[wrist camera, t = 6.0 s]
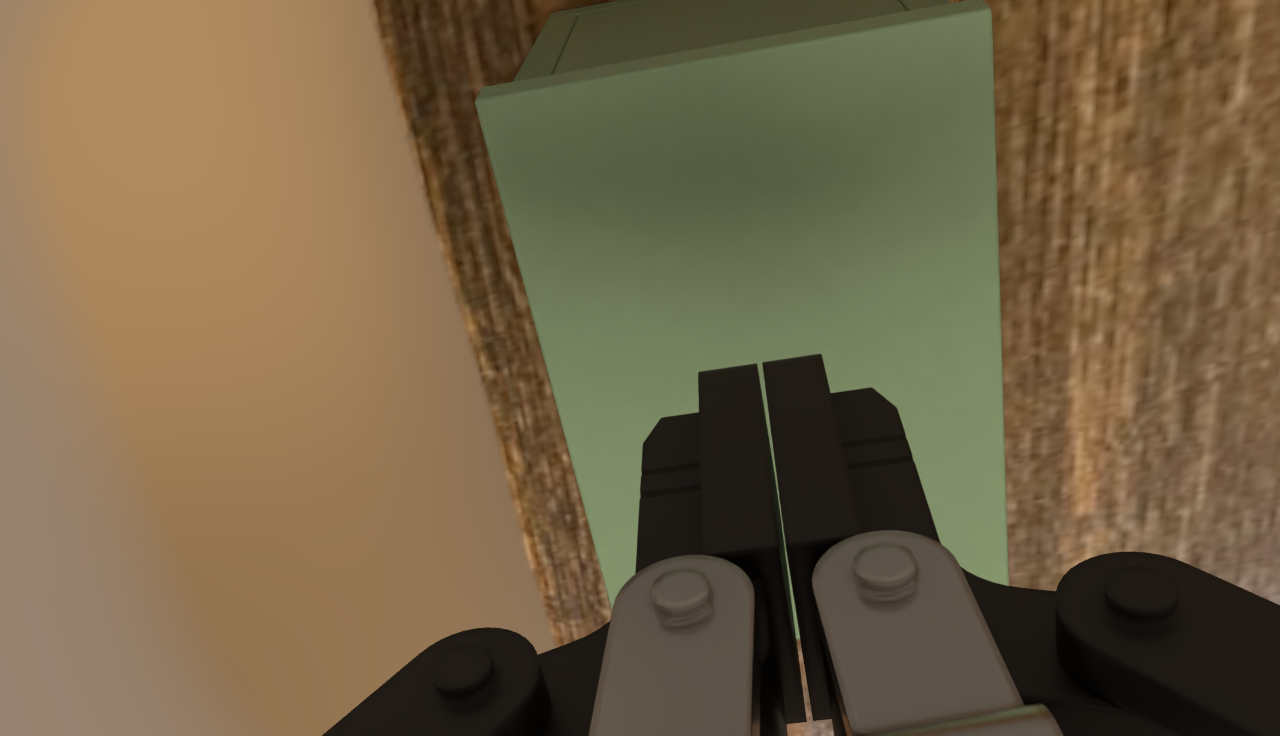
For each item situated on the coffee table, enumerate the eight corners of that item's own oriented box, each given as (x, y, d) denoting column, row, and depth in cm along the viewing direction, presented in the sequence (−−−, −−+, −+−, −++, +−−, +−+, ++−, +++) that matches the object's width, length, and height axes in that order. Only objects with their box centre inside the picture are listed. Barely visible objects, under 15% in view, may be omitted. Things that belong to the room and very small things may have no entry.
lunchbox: (549, 12, 28) (494, 111, 20) (896, -53, 27) (976, 27, 19) (642, 432, 34) (626, 633, 26) (930, 393, 33) (1001, 590, 25)
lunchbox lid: (480, 86, 20) (473, 100, 19) (981, -4, 18) (992, 7, 18) (625, 634, 26) (624, 658, 25) (1001, 592, 25) (1010, 617, 24)
